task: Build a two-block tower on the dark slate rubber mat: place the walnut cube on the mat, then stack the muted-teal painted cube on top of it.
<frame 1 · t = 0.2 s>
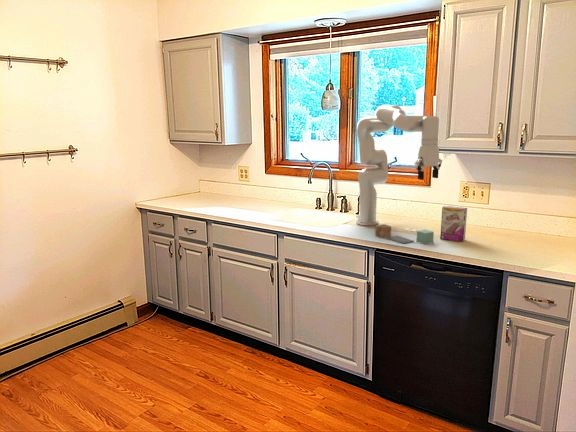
hand: (427, 178, 228), 31 cm above the countertop, fingers open, 9 cm apart
teal block: (424, 242, 231), on the countertop
candy bar box: (452, 240, 235), on the countertop
instruction card: (410, 230, 256), on the countertop
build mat: (400, 240, 235), on the countertop
walnut block: (383, 236, 244), on the countertop
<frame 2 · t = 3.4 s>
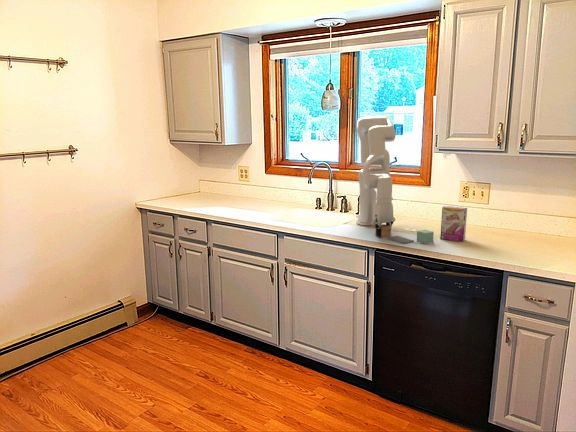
hand: (383, 235, 244), 1 cm above the countertop, fingers closed on walnut block, 5 cm apart
walnut block: (383, 236, 244), on the countertop, touching gripper
everything else where it was.
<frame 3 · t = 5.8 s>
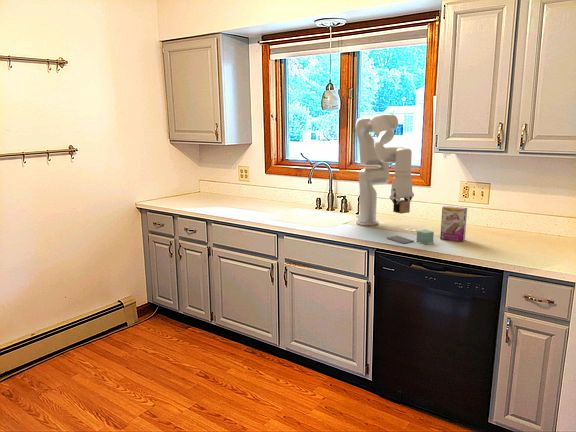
hand: (401, 210, 232), 15 cm above the countertop, fingers closed on walnut block, 5 cm apart
walnut block: (401, 212, 232), point 14 cm above the countertop, touching gripper
everything else where it was.
when the fingers open (2 cm above the countertop, at t = 8.4 s): walnut block stays where it is, resting on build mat.
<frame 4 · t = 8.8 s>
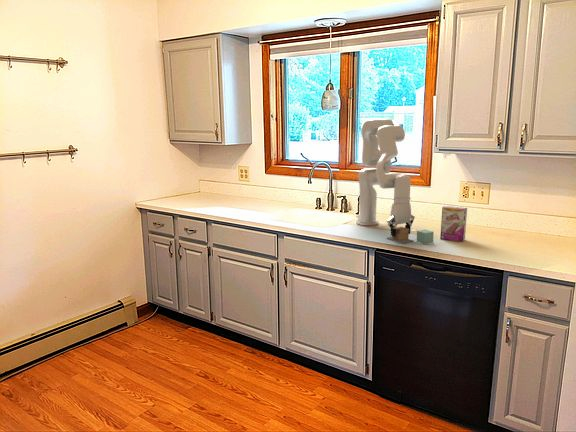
hand: (400, 234, 235), 3 cm above the countertop, fingers open, 9 cm apart
walnut block: (400, 239, 235), point 1 cm above the countertop, touching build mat
everything else where it was.
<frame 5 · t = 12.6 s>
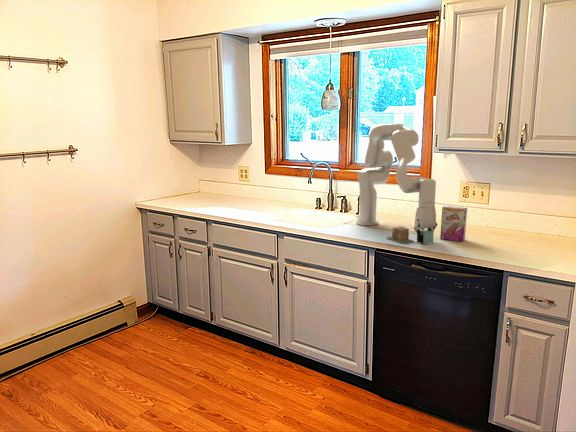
hand: (424, 240, 231), 1 cm above the countertop, fingers closed on teal block, 5 cm apart
teal block: (424, 242, 231), on the countertop, touching gripper
everything else where it was.
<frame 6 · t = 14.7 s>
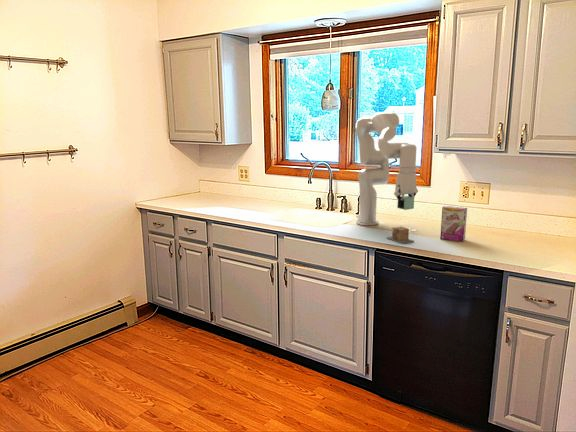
hand: (405, 207, 231), 17 cm above the countertop, fingers closed on teal block, 5 cm apart
teal block: (405, 208, 232), point 16 cm above the countertop, touching gripper
everything else where it was.
when the fingers open (8 cm above the countertop, at t = 17.1 s): teal block stays where it is, resting on walnut block.
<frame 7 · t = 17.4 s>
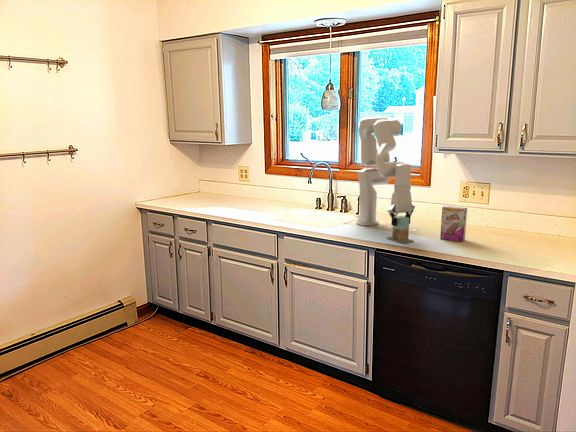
hand: (400, 224, 234), 8 cm above the countertop, fingers open, 8 cm apart
teal block: (400, 228, 234), point 6 cm above the countertop, touching walnut block
walnut block: (400, 239, 235), point 1 cm above the countertop, touching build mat, teal block
everything else where it was.
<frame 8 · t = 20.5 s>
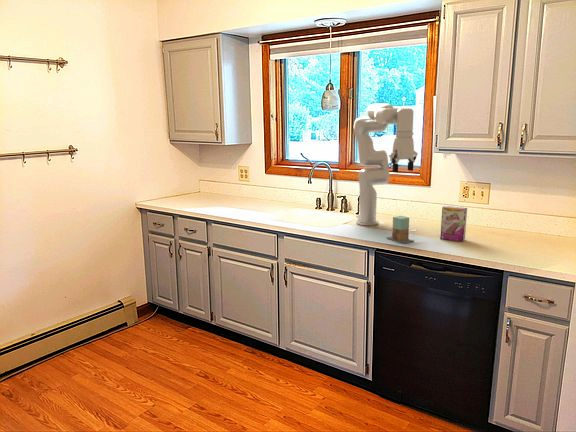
hand: (402, 171, 228), 34 cm above the countertop, fingers open, 9 cm apart
nothing on the countertop moved.
at the end: walnut block inside the target area on the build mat (0.0 cm from its centre), point 0.6 cm above the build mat's base; teal block 0.0 cm off-centre on the walnut block, point 5.5 cm above the walnut block's base; teal block tilted 0° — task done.
